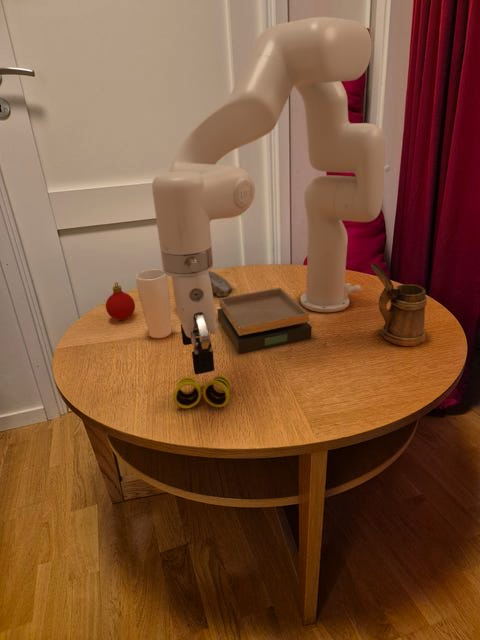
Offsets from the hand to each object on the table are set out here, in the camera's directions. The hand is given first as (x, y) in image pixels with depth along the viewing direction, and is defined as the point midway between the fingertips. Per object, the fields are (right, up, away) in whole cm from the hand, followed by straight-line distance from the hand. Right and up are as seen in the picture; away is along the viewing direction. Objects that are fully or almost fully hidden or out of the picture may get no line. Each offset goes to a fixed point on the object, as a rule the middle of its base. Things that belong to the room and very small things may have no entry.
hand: (197, 356), depth 69 cm
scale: (+12, +4, +27) cm, 30 cm away
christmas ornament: (-23, +6, +36) cm, 43 cm away
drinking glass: (-12, +3, +28) cm, 30 cm away
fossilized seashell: (-1, +15, +49) cm, 51 cm away
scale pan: (+12, +8, +25) cm, 29 cm away
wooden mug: (+41, +2, +21) cm, 46 cm away
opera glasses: (+1, -8, +5) cm, 10 cm away
